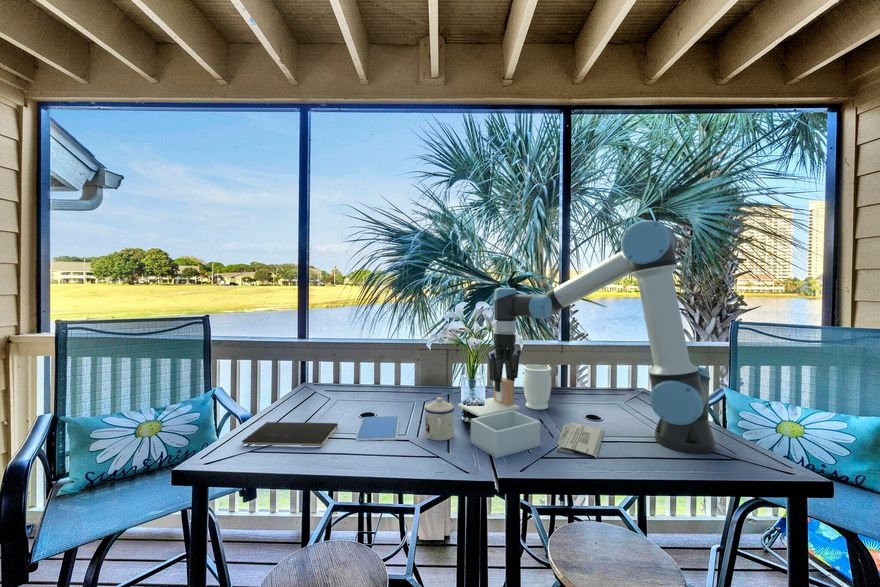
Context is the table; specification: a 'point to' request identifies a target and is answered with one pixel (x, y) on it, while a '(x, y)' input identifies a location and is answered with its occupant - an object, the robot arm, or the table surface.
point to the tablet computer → (378, 428)
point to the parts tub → (505, 433)
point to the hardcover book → (291, 434)
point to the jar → (537, 386)
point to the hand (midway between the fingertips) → (503, 399)
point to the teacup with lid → (439, 420)
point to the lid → (495, 402)
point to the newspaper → (580, 439)
